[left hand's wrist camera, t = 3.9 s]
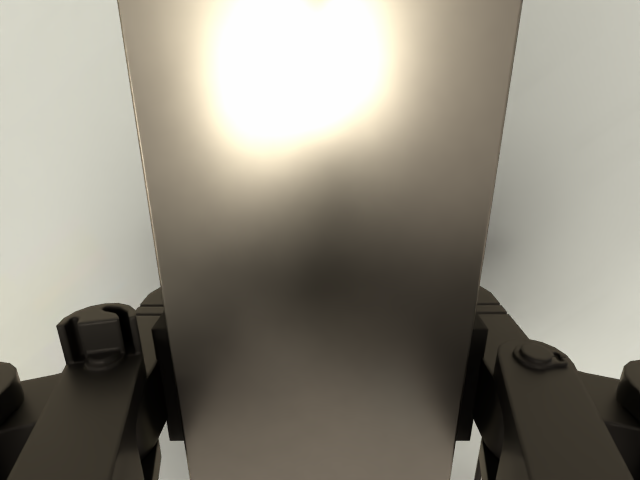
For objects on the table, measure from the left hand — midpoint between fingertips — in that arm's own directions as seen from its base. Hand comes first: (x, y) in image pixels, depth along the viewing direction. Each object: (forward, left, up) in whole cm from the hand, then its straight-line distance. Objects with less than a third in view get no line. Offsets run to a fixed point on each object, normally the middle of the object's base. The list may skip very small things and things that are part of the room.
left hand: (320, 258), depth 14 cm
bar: (+7, +2, -1) cm, 8 cm away
